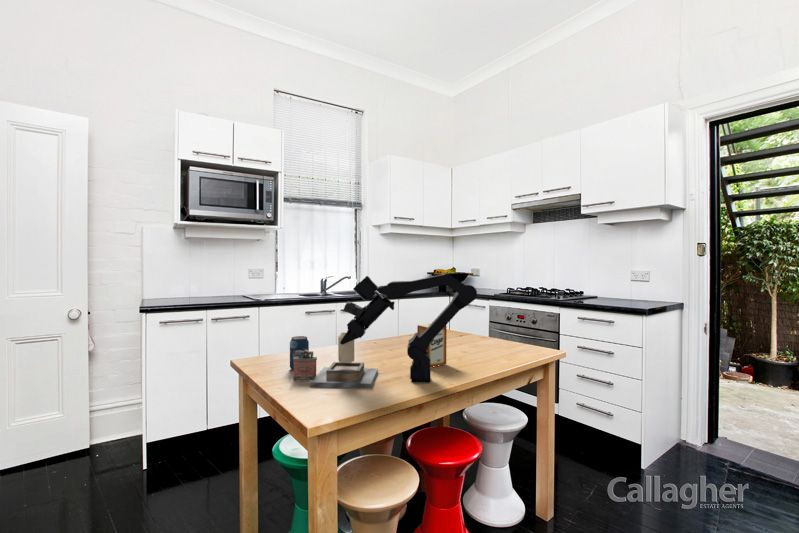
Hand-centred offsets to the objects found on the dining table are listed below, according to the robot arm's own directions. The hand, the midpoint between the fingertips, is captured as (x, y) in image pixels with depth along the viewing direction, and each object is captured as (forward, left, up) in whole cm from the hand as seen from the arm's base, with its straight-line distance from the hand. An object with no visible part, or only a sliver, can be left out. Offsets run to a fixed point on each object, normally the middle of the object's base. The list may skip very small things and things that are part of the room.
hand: (342, 341), depth 137 cm
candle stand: (-1, 0, -13) cm, 13 cm away
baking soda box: (-31, -22, -13) cm, 40 cm away
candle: (-1, 0, -7) cm, 7 cm away
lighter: (+13, +1, -13) cm, 18 cm away
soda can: (+19, -11, -13) cm, 25 cm away
